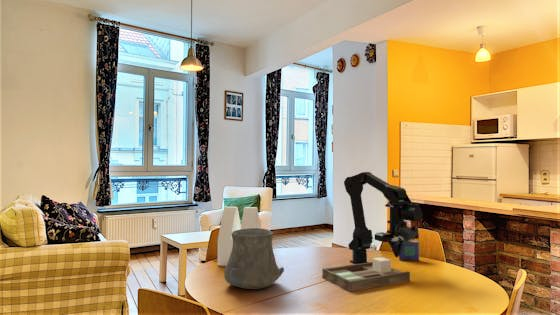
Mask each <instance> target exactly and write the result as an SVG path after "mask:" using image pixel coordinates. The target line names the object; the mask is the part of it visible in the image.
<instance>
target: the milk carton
mask: <svg viewBox="0 0 560 315" xmlns="http://www.w3.org/2000/svg"><path fill="white" fill-rule="evenodd" d="M221 216H222V217H221V222H220V225H219V231H218V236H217V266H221V267H222V266H225V267H226V265H227V262H228V260H229V257H230V254H231V251H232V247H233V239H232V235H231V233H232V232H234V231H236V230H241V229H248V228H260V229H262V228H261V222H260V215H259V210H258V207H257V206H255V207H253V206H250V207H249V206H244V207H243V210H242V218H240V213H239V208H238V206H224V207H223V211H222V215H221Z"/></svg>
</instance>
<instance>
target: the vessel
mask: <svg viewBox="0 0 560 315" xmlns="http://www.w3.org/2000/svg"><path fill="white" fill-rule="evenodd" d="M231 235H232V239H233V247H232V251H231V254H230V257H229V260H228V262H227V265H226V266H225V267H224V272H223V277H224V280H225V281H226V283H227V284H229V285H231V286H234V287H238V288H242V289H248V290H259V289H260V290H261V289H265V288H267V287H270V286H271V285H272V284H273V283H275V282H276V281H277V280H278V279H280V277H281V276H282V275H283V273H284V271H285V268H284V267H283V266H282V267H278V265H277V262H276V256H275V254H274V248H273V236H274V231H271V230H270V229H266V228H261V229H260V228H248V229H241V230H236V231H234V232H232V233H231Z"/></svg>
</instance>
